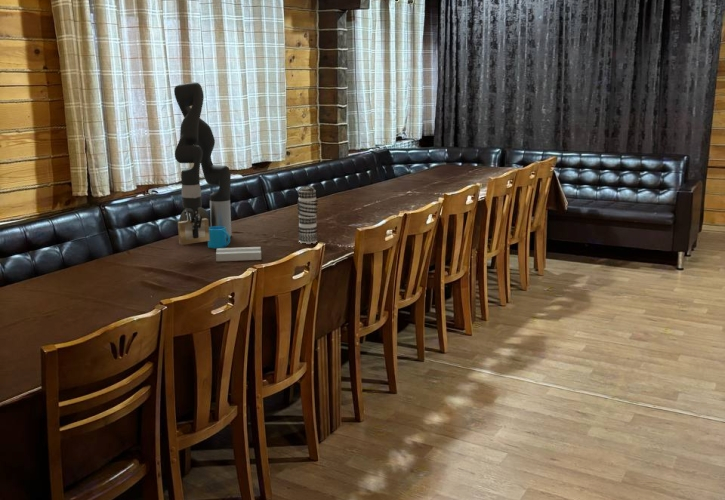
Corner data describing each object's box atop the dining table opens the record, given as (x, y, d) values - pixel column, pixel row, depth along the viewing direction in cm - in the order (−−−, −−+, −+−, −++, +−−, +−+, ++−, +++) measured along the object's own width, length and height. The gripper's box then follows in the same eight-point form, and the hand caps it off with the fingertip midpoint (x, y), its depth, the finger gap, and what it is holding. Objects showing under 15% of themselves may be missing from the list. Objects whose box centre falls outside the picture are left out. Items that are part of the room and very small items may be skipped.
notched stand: (217, 255, 280) (216, 248, 279) (260, 253, 283) (260, 246, 283) (216, 261, 271) (215, 254, 270) (261, 259, 274) (261, 252, 273)
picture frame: (179, 243, 272) (177, 221, 270) (207, 239, 279) (205, 218, 277) (181, 244, 270) (180, 223, 268) (209, 240, 277) (208, 219, 274)
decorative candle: (315, 244, 300) (314, 189, 294) (295, 243, 302) (294, 188, 296) (320, 240, 309) (320, 186, 303) (301, 239, 310) (300, 185, 305)
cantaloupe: (173, 239, 308) (171, 207, 304) (194, 234, 320) (192, 203, 317) (196, 243, 302) (195, 210, 298) (217, 237, 314) (215, 205, 310)
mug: (203, 246, 296) (202, 228, 294) (217, 243, 302) (216, 225, 300) (223, 250, 289) (222, 231, 287) (236, 246, 296) (236, 228, 294)
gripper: (176, 193, 273) (179, 235, 277) (189, 198, 262) (192, 241, 266) (193, 192, 277) (196, 232, 281) (207, 196, 266) (209, 239, 270)
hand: (194, 237), depth 274 cm, fingers closed on picture frame, 2 cm apart
